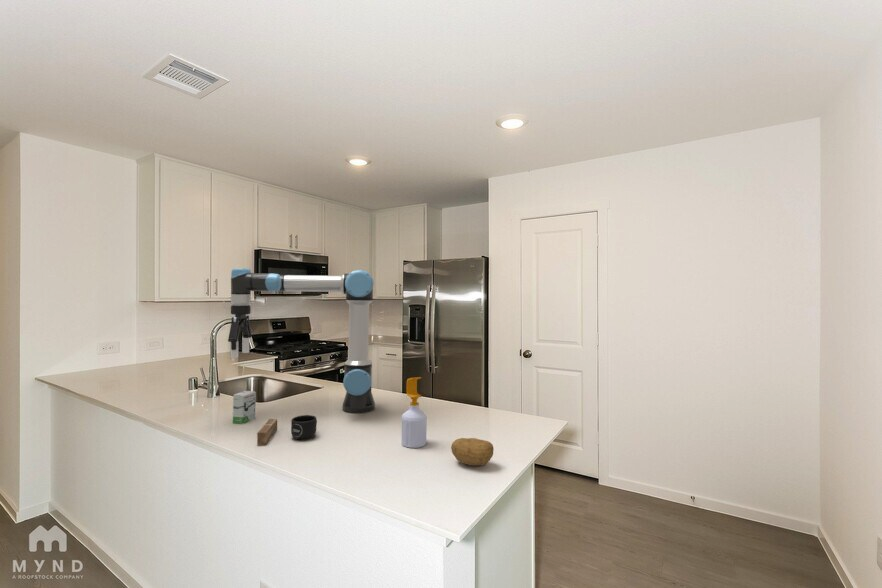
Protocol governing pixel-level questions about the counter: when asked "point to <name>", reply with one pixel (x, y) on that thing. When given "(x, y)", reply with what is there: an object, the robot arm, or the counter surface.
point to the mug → (303, 427)
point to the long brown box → (267, 432)
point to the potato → (472, 451)
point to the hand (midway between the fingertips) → (240, 355)
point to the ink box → (244, 406)
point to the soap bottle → (413, 419)
